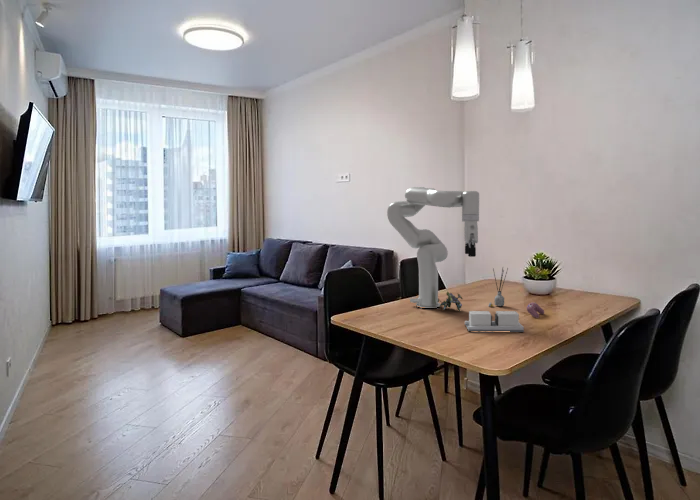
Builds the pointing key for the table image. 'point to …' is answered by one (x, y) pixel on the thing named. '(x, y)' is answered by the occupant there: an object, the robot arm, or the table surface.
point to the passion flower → (451, 301)
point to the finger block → (480, 318)
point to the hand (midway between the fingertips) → (470, 255)
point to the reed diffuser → (499, 298)
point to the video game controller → (534, 309)
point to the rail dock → (501, 323)
